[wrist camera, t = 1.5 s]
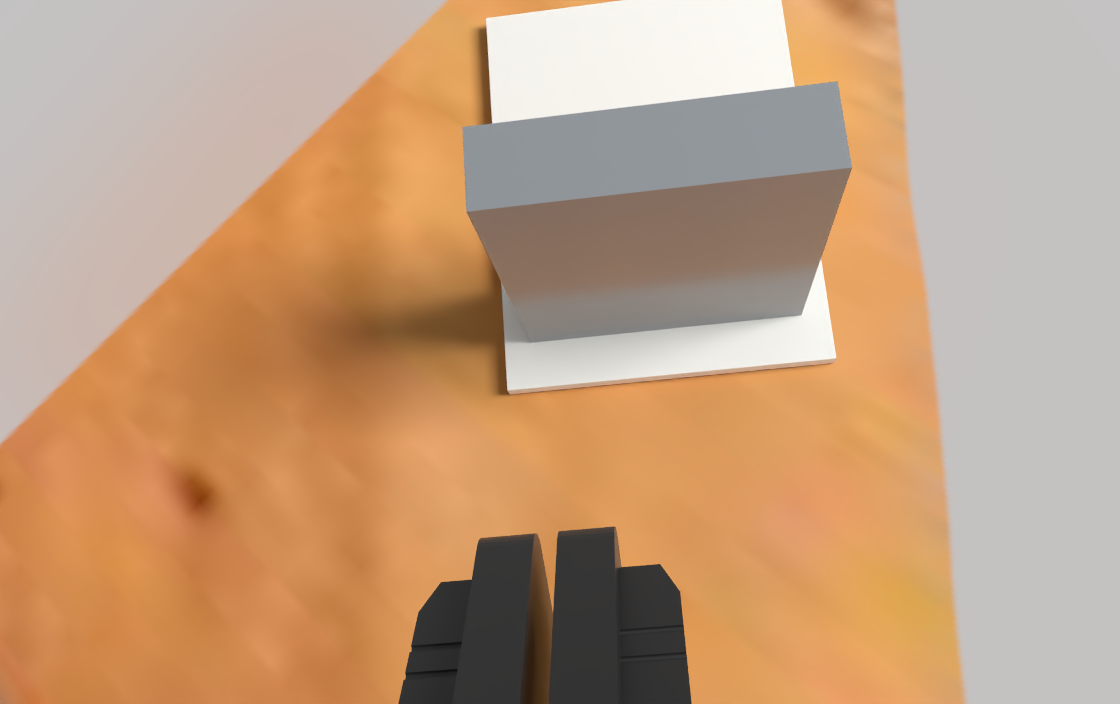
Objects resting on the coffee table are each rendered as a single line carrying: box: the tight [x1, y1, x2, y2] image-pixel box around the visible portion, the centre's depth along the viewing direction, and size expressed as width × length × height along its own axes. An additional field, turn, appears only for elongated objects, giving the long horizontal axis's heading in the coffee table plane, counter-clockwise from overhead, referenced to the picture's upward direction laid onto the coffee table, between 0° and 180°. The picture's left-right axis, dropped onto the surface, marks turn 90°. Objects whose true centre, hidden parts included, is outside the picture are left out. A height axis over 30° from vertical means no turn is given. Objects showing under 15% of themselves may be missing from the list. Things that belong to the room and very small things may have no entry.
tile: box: [463, 81, 852, 343], centre depth 33 cm, size 10×3×12 cm, turn 94°
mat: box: [486, 0, 836, 394], centre depth 40 cm, size 12×16×1 cm
